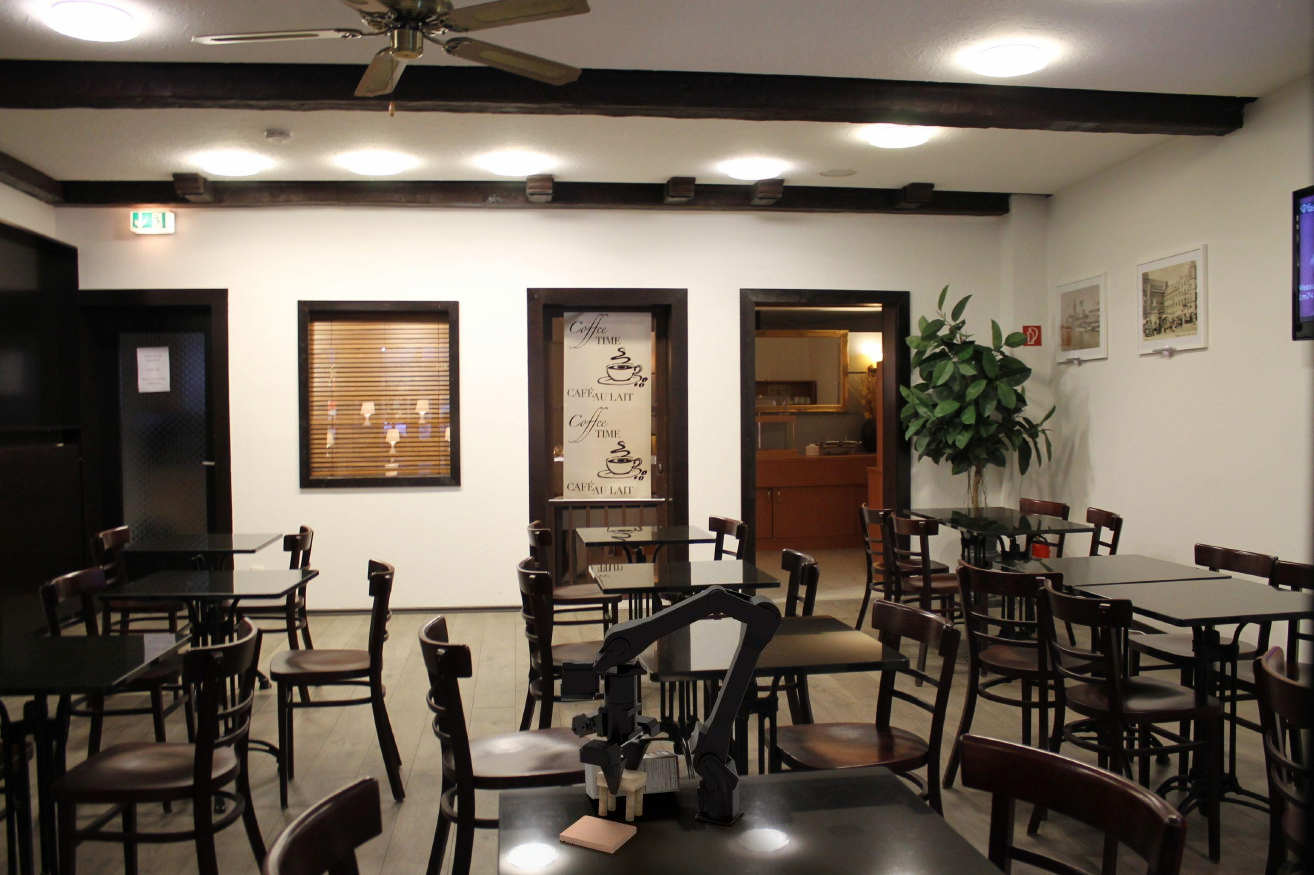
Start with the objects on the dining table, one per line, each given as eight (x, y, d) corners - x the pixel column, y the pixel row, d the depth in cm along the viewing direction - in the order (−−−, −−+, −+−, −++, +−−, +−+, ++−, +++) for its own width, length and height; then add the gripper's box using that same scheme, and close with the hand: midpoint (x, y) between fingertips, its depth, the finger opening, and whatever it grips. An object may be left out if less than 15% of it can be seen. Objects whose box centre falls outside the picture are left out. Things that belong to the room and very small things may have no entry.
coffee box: (583, 757, 167) (667, 749, 170) (585, 793, 165) (669, 785, 169) (591, 762, 158) (678, 754, 162) (592, 800, 156) (681, 791, 160)
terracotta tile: (636, 832, 149) (636, 826, 149) (612, 853, 142) (612, 847, 142) (585, 821, 153) (585, 815, 153) (559, 840, 146) (559, 834, 146)
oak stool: (645, 813, 155) (646, 772, 155) (632, 822, 150) (633, 779, 151) (609, 807, 158) (611, 766, 158) (595, 815, 153) (597, 773, 154)
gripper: (607, 679, 166) (608, 762, 167) (551, 708, 150) (552, 800, 150) (660, 687, 161) (661, 772, 161) (609, 717, 145) (609, 813, 145)
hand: (621, 788), depth 155 cm, fingers closed on oak stool, 5 cm apart
